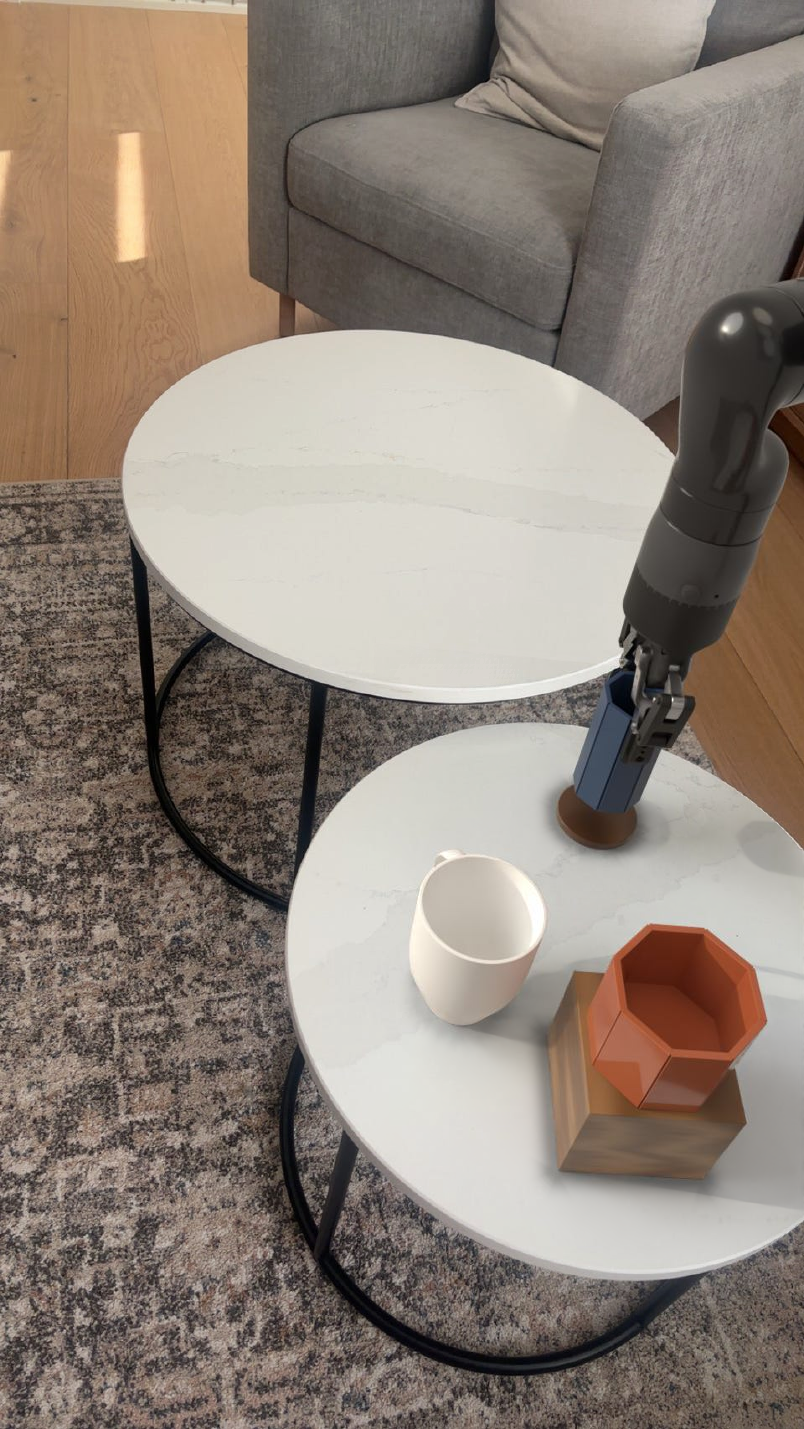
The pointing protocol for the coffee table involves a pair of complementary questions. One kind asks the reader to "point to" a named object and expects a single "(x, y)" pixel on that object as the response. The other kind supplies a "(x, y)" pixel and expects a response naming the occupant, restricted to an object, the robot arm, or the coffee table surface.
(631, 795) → the slate cup
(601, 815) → the coaster
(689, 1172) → the riser
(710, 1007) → the terracotta cup
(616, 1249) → the coffee table surface
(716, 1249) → the coffee table surface
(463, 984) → the mug
